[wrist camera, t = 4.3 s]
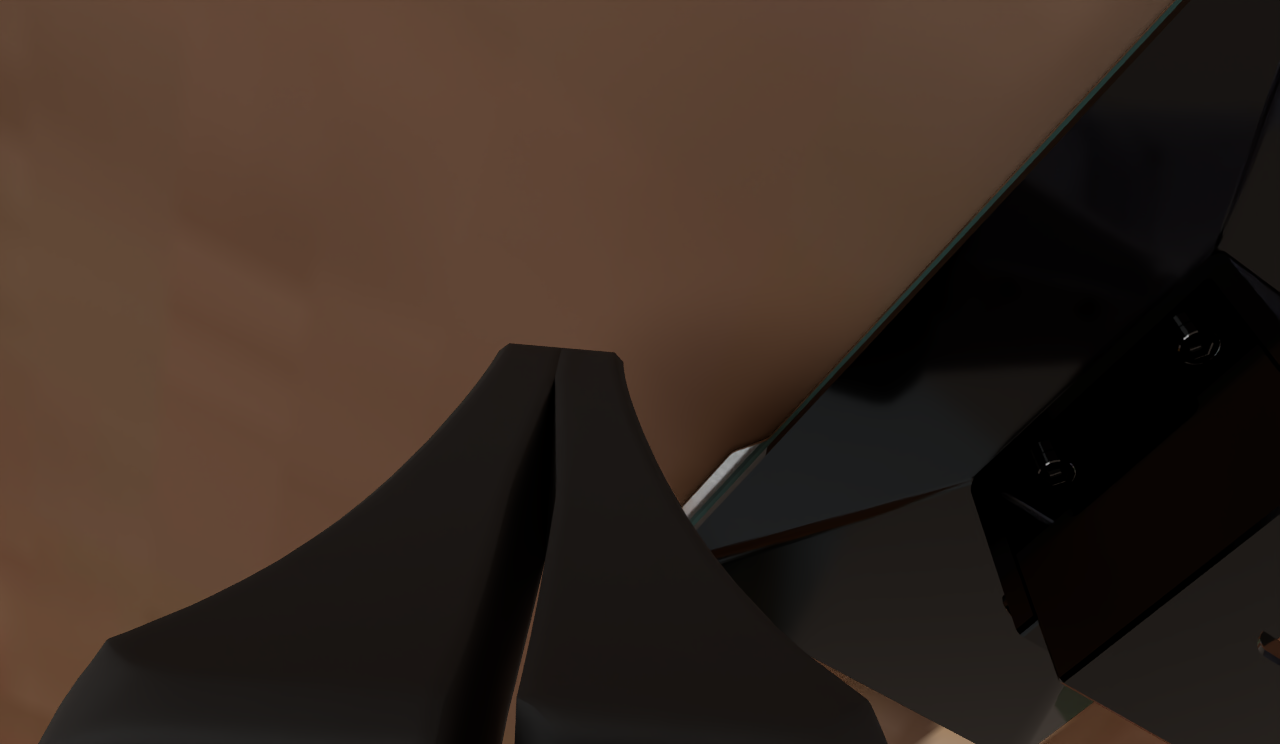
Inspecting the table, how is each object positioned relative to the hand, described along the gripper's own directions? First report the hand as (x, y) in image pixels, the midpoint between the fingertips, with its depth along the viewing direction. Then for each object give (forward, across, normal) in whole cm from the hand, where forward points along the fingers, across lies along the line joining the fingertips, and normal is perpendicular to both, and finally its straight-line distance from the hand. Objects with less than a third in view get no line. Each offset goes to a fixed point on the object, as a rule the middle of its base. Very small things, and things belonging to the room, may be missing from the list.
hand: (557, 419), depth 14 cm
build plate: (+2, -8, 0) cm, 8 cm away
